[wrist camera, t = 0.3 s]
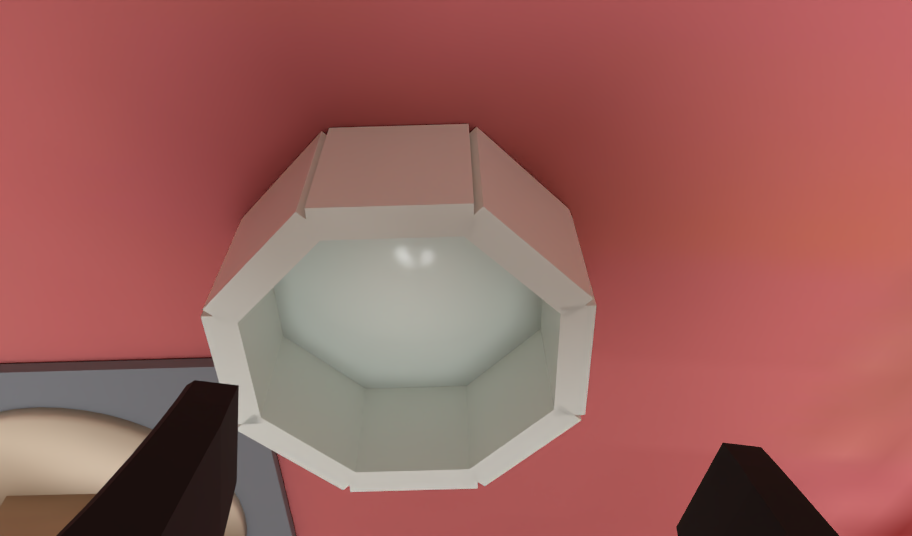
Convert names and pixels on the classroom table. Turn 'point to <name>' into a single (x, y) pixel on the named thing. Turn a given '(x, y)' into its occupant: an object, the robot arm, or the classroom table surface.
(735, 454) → the robot arm
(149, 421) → the mat
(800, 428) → the classroom table surface
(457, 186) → the bowl
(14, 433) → the lid
